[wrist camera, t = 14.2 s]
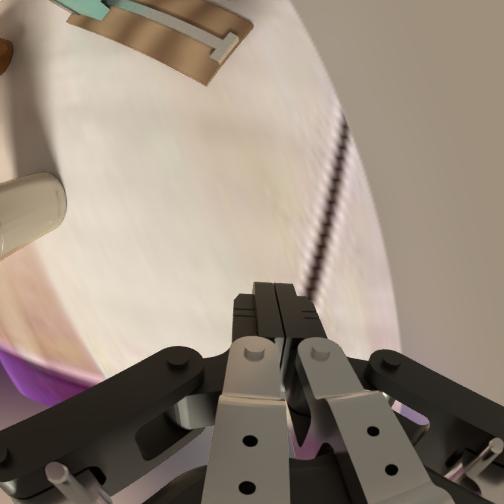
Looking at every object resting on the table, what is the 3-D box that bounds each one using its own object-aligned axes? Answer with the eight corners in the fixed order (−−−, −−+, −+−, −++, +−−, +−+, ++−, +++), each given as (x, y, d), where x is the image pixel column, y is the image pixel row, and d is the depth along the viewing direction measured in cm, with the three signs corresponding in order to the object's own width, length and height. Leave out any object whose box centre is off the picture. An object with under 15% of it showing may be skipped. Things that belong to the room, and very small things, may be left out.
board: (253, 27, 28) (253, 24, 27) (206, 86, 31) (205, 84, 30) (109, -27, 23) (106, -30, 22) (69, 23, 26) (66, 21, 25)
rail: (246, 32, 28) (244, 0, 19) (212, 74, 30) (199, 52, 21) (100, -23, 22) (72, -47, 14) (71, 13, 24) (38, -5, 16)
